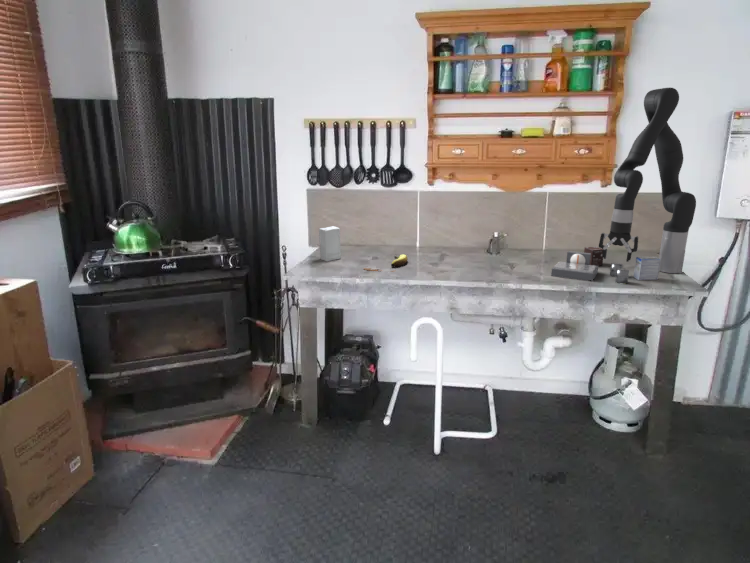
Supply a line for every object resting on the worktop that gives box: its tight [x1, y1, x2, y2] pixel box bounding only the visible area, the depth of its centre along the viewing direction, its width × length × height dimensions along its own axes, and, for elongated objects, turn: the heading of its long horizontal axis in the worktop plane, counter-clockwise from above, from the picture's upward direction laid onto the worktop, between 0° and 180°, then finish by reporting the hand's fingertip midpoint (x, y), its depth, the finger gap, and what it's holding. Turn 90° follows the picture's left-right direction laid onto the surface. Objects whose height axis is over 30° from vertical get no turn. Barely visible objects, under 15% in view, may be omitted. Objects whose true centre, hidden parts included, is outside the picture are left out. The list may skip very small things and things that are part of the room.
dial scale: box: [550, 250, 599, 282], centre depth 217 cm, size 16×14×8 cm
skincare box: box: [318, 225, 342, 262], centre depth 243 cm, size 8×6×15 cm
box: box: [583, 246, 604, 267], centre depth 233 cm, size 6×6×7 cm
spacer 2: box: [614, 268, 630, 284], centre depth 207 cm, size 4×4×5 cm
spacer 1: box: [609, 262, 624, 278], centre depth 216 cm, size 4×4×5 cm
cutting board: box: [362, 254, 427, 273], centre depth 238 cm, size 35×27×4 cm
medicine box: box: [633, 256, 661, 281], centre depth 211 cm, size 8×4×9 cm, turn 92°
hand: (615, 259), depth 215 cm, fingers open, 8 cm apart
